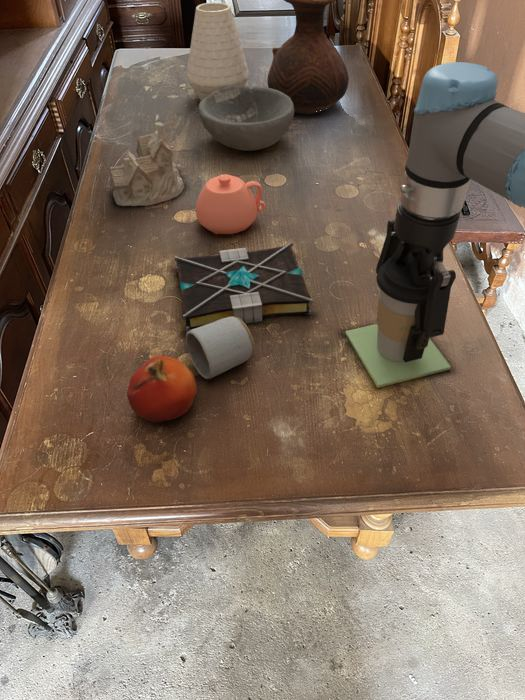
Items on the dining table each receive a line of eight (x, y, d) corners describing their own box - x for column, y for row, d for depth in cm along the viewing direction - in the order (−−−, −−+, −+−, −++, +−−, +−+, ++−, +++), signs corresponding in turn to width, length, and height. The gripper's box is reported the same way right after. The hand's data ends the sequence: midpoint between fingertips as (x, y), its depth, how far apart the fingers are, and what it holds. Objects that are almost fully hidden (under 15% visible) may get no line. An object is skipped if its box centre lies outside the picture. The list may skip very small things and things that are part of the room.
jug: (339, 89, 159) (349, -34, 137) (351, 120, 144) (365, -13, 122) (265, 92, 158) (264, -32, 137) (269, 123, 143) (269, -10, 122)
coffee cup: (405, 380, 79) (426, 302, 68) (352, 349, 83) (364, 271, 73) (438, 345, 84) (462, 267, 73) (387, 318, 88) (402, 241, 78)
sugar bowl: (193, 211, 113) (188, 165, 106) (259, 203, 115) (258, 157, 108) (201, 244, 105) (196, 196, 97) (271, 235, 107) (271, 187, 99)
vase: (192, 114, 148) (182, 18, 131) (186, 91, 159) (176, 0, 143) (255, 108, 150) (253, 13, 133) (244, 85, 162) (240, -4, 145)
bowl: (192, 162, 128) (188, 119, 121) (210, 122, 144) (207, 82, 137) (289, 166, 126) (290, 123, 119) (296, 125, 142) (297, 85, 135)
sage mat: (450, 369, 81) (451, 366, 81) (377, 388, 79) (377, 385, 78) (412, 318, 89) (412, 315, 89) (344, 333, 87) (345, 331, 86)
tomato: (201, 382, 80) (196, 344, 74) (195, 433, 74) (188, 395, 68) (139, 381, 80) (129, 343, 75) (127, 432, 74) (115, 395, 68)
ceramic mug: (258, 365, 82) (257, 328, 77) (212, 389, 79) (207, 352, 73) (221, 327, 88) (217, 290, 83) (177, 348, 85) (170, 311, 80)
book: (291, 257, 101) (292, 234, 98) (314, 316, 90) (315, 293, 86) (176, 271, 99) (172, 248, 95) (183, 334, 87) (179, 311, 84)
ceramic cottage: (178, 164, 127) (166, 100, 116) (187, 202, 116) (174, 136, 105) (112, 176, 126) (93, 112, 114) (115, 216, 115) (94, 150, 104)
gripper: (365, 170, 72) (347, 300, 88) (447, 260, 58) (408, 395, 74) (415, 162, 73) (389, 291, 90) (507, 247, 59) (457, 382, 76)
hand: (398, 338), depth 82 cm, fingers open, 8 cm apart
